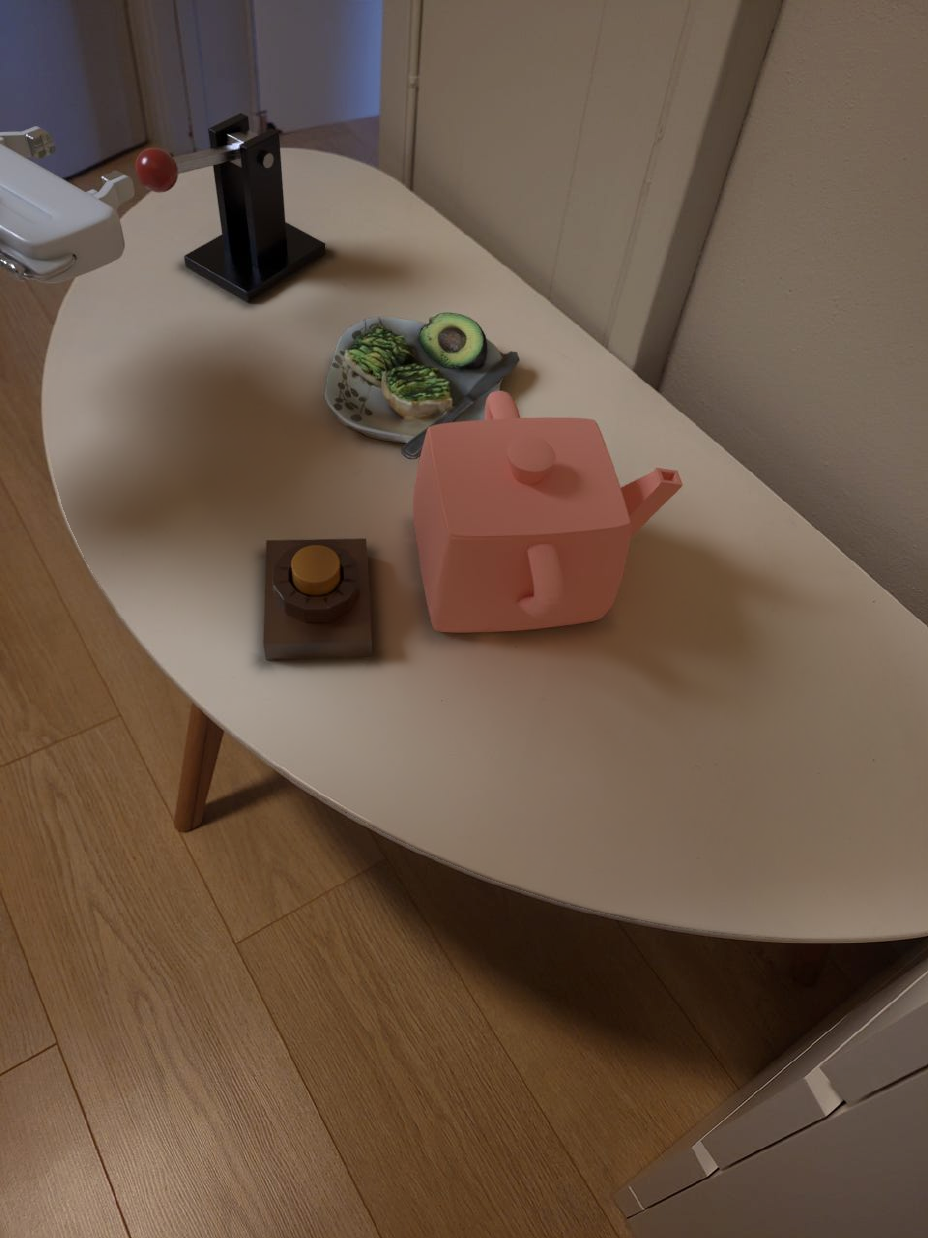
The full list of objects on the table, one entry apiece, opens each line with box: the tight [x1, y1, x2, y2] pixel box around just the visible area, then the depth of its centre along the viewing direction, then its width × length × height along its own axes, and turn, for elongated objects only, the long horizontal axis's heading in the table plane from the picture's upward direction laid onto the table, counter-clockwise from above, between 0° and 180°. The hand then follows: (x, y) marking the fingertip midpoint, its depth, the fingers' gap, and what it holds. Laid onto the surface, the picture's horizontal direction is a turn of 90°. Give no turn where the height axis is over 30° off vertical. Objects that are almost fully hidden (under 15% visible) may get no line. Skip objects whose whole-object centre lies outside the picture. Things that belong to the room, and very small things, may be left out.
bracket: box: [183, 112, 326, 304], centre depth 92 cm, size 12×9×14 cm
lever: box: [134, 129, 259, 194], centre depth 84 cm, size 14×4×4 cm, turn 144°
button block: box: [262, 538, 373, 661], centre depth 71 cm, size 8×10×4 cm
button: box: [291, 545, 340, 596], centre depth 69 cm, size 4×4×2 cm
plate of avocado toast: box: [323, 312, 521, 460], centre depth 85 cm, size 19×18×5 cm
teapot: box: [412, 390, 684, 633], centre depth 71 cm, size 20×22×14 cm
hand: (87, 159), depth 74 cm, fingers open, 8 cm apart
